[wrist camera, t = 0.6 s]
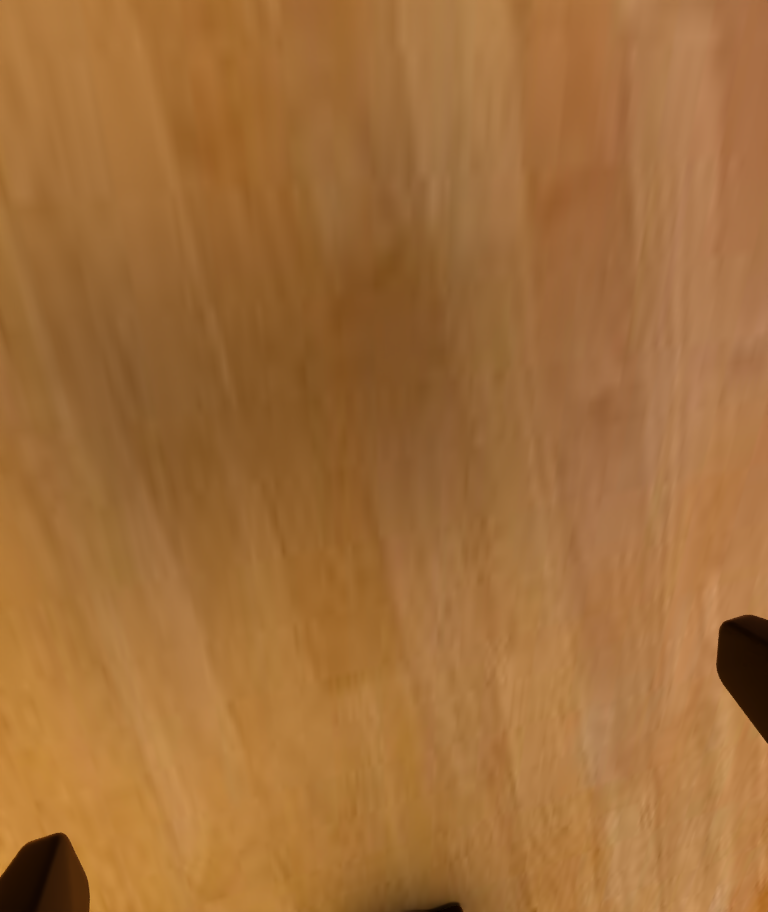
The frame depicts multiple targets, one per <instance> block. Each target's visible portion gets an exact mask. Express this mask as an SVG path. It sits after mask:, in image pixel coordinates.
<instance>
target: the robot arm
mask: <svg viewBox="0 0 768 912" xmlns="http://www.w3.org/2000/svg"><path fill="white" fill-rule="evenodd" d="M716 667H717V672H718V675H719V678H720V679H721V681H722V683H723V685H724V686H725V687H726V689H727V690H728V691H729V693H730V694H731V695H732V697H733V698H734V699H735V701H736V702H737V703H738V705H739V706H740V707H741V709H742V710H743V711H744V713H745V714H746V715H747V717H748V718H749V719H750V721H751V722H752V723H753V725H754V726H755V727H756V729H757V730H758V731H759V733H760V734H761V735H762V737H763V738H764V739H765V741H766V742H767V743H768V620H766V619H763V618H760V617H757V616H753V615H743V616H740V617H736V618H733V619H730V620H727V621H725V622H723V623H722V625H721V626H720V629H719V638H718V650H717V662H716ZM89 903H90V893H89V884H88V880H87V876H86V874H85V872H84V870H83V867H82V865H81V863H80V861H79V859H78V857H77V855H76V853H75V851H74V849H73V846H72V844H71V842H70V840H69V839H68V837H67V836H66V835H65V834H64V833H55V834H52V835H49V836H46V837H42V838H39V839H36V840H33V841H30V842H28V843H27V844H25V845H24V846H23V847H22V848H21V849H20V851H19V852H18V853H17V855H16V856H15V858H14V859H13V860H12V862H11V863H10V865H9V866H8V867H7V869H6V870H5V872H4V873H3V874H2V876H1V877H0V912H89ZM437 912H463V909H462V907H460V906H452V907H449V908H446V909H443V910H440V911H437Z"/></svg>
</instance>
